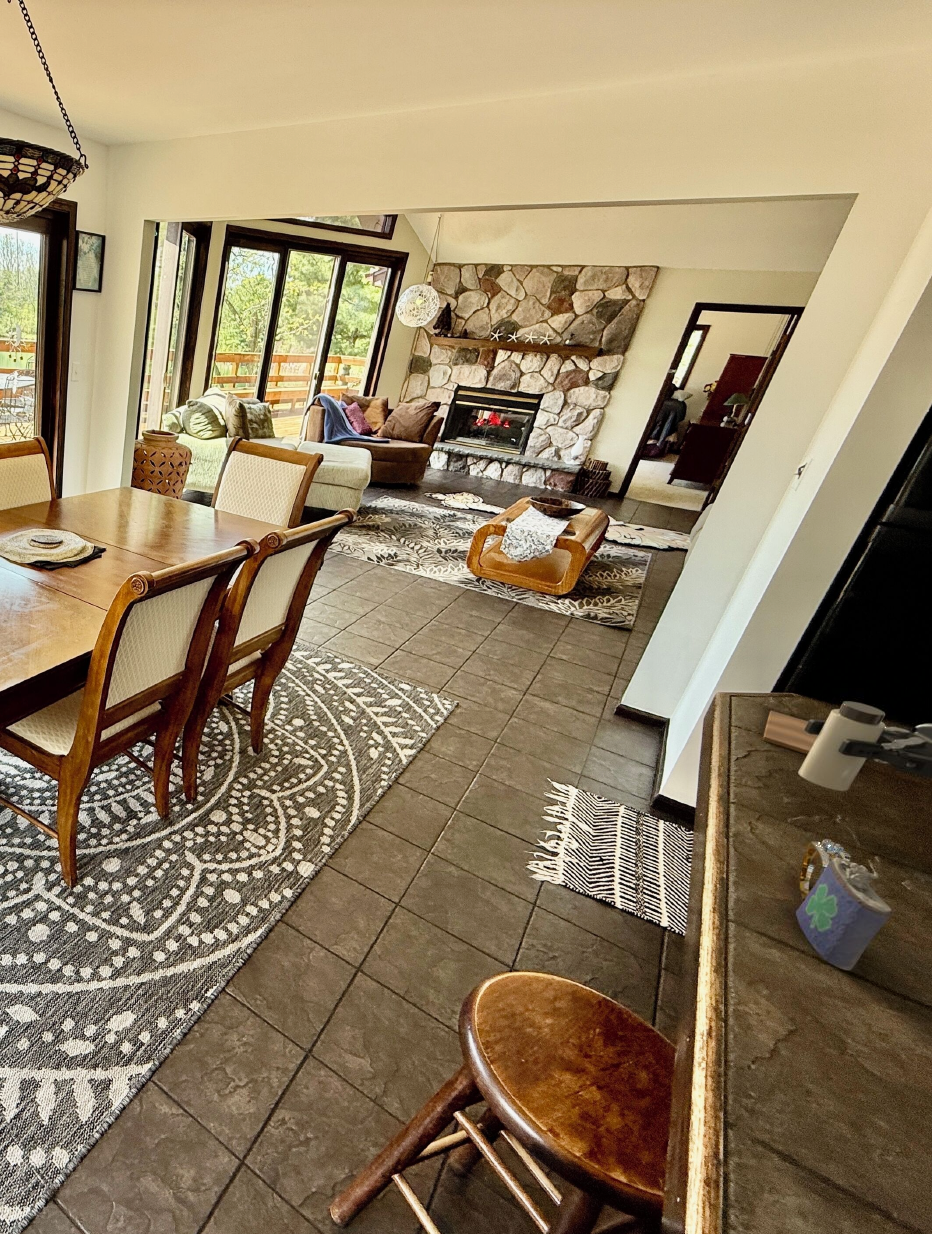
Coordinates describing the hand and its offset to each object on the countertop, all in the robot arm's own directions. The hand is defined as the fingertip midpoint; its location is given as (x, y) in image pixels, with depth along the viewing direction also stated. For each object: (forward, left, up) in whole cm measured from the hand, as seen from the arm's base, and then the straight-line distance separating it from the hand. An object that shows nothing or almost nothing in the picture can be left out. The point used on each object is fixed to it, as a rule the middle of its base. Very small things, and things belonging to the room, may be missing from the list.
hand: (826, 736), depth 93 cm
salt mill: (-2, -1, -7) cm, 7 cm away
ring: (+8, +25, -12) cm, 29 cm away
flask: (+10, +34, -12) cm, 38 cm away
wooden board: (-13, -30, -12) cm, 35 cm away
